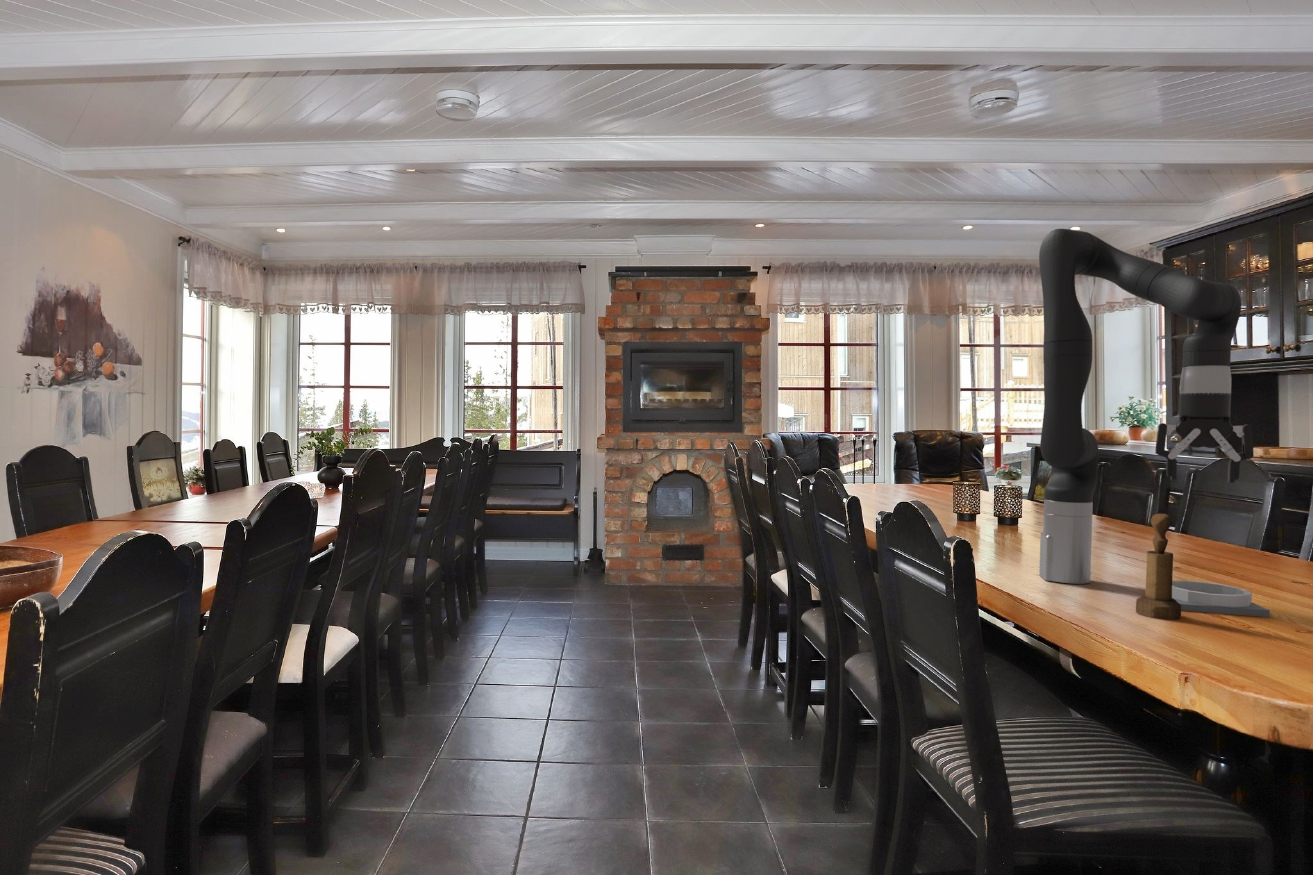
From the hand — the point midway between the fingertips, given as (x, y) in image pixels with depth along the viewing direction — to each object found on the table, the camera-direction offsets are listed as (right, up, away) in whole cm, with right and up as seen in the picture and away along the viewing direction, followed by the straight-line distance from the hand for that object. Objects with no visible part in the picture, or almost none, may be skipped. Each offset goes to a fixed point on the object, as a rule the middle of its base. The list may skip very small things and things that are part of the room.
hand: (1201, 481), depth 135 cm
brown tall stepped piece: (-10, -24, -4) cm, 26 cm away
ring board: (+4, -24, +5) cm, 24 cm away
